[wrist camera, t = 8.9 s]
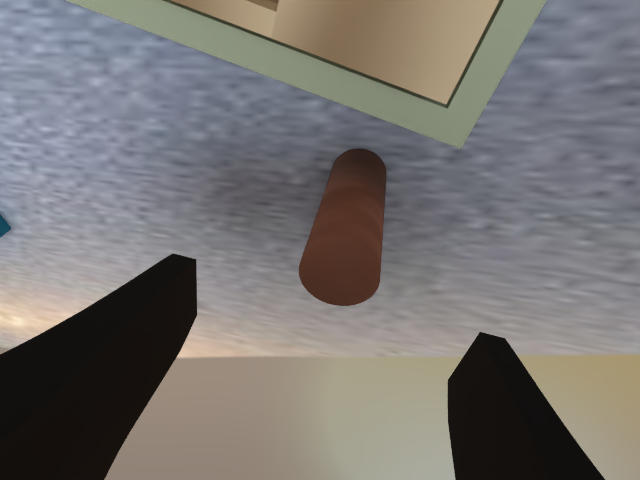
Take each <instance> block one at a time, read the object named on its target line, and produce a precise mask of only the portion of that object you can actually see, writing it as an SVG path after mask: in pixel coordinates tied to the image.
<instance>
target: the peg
mask: <svg viewBox="0 0 640 480" xmlns="http://www.w3.org/2000/svg"><path fill="white" fill-rule="evenodd" d="M385 189H386V168H385V165H384V163H383V161H382V160H381V158H380V157H379V156H378V155H376V154H375V153H373V152H371V151H369V150H366V149H352V150H348V151H346V152H344V153H343V154H341V155H340V156H339V157H338V158H337V160H336V161H335V163H334V165H333V168H332V171H331V174H330V177H329V180H328V183H327V186H326V189H325V192H324V195H323V197H322V200H321V203H320V206H319V209H318V212H317V215H316V218H315V221H314V224H313V227H312V230H311V233H310V236H309V239H308V241H307V244H306V247H305V250H304V253H303V256H302V259H301V262H300V266H299V276H300V279H301V282H302V284H303V286H304V287H305V288H306V290H307V291H308V292H309V293H310V294H312V295H313V296H314V297H316V298H317V299H319V300H321V301H323V302H326V303H329V304H332V305H339V306H349V305H355V304H359V303H361V302H364V301H366V300H367V299H369V298H370V297H371V296H372V295H373V294H374V293H375V292H376V290H377V288H378V286H379V283H380V272H381V255H382V238H383V222H384V205H385Z"/></svg>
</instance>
